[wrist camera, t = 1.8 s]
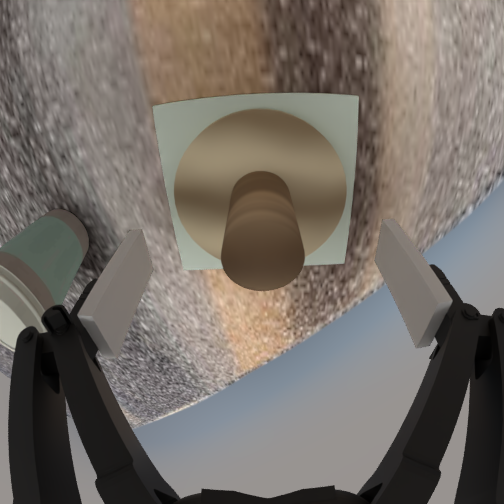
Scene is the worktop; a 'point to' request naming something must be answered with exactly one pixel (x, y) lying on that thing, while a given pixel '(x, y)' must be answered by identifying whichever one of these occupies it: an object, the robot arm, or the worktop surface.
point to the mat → (298, 104)
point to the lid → (260, 194)
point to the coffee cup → (38, 271)
